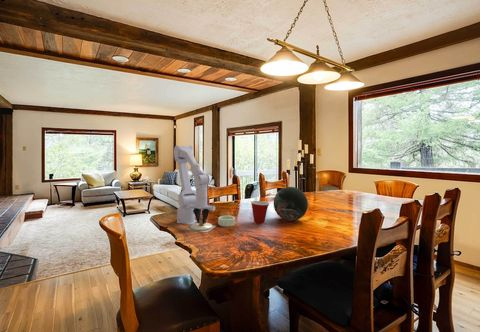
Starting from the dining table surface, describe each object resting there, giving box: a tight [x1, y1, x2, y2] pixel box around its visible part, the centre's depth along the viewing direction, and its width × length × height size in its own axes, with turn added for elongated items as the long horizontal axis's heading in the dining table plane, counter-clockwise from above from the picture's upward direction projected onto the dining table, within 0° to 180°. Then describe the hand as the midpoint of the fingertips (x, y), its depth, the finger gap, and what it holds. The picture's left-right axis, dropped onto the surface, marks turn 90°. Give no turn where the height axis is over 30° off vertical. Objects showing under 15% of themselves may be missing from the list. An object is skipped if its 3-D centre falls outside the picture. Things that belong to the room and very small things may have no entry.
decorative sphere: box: [273, 186, 309, 222], centre depth 157 cm, size 20×20×20 cm
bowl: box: [217, 215, 236, 227], centre depth 146 cm, size 9×9×4 cm
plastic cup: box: [250, 200, 270, 225], centre depth 151 cm, size 11×11×12 cm
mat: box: [185, 224, 217, 233], centre depth 139 cm, size 12×12×1 cm
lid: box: [190, 216, 213, 230], centre depth 138 cm, size 11×11×5 cm
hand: (201, 223), depth 139 cm, fingers closed on lid, 3 cm apart
